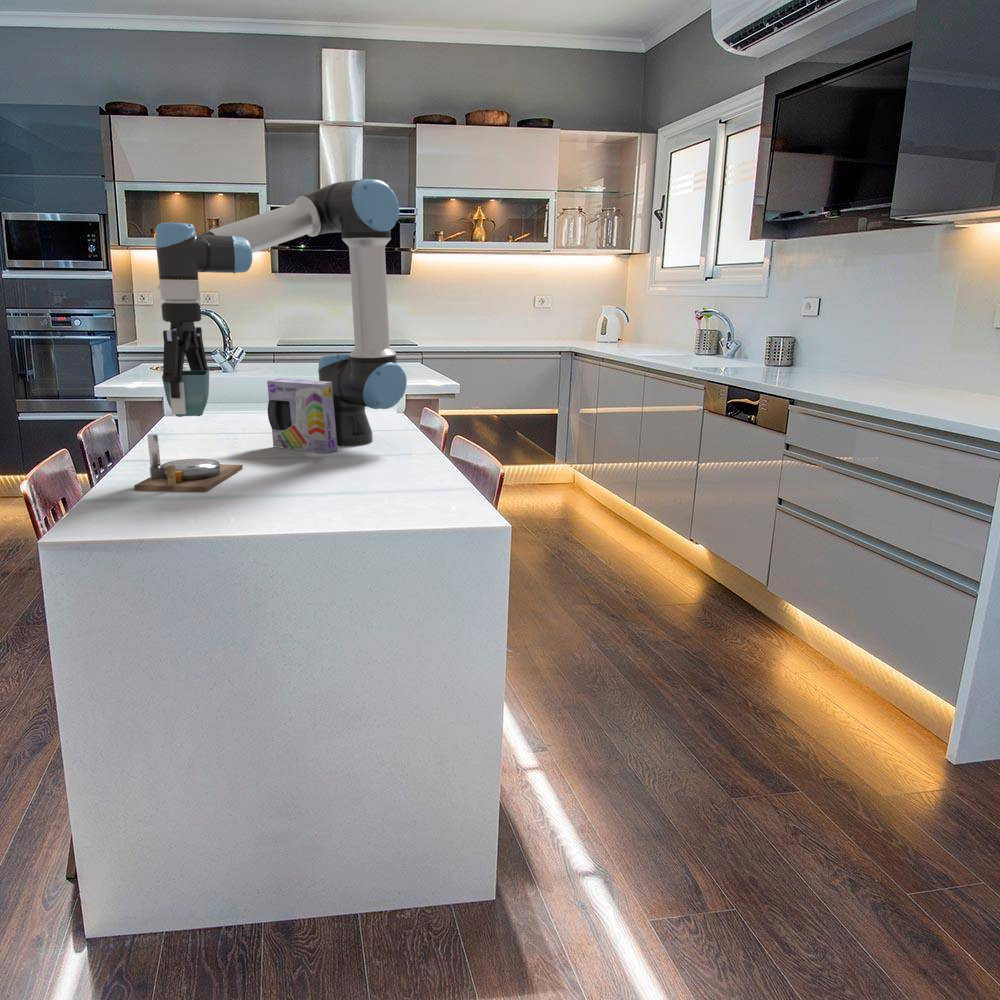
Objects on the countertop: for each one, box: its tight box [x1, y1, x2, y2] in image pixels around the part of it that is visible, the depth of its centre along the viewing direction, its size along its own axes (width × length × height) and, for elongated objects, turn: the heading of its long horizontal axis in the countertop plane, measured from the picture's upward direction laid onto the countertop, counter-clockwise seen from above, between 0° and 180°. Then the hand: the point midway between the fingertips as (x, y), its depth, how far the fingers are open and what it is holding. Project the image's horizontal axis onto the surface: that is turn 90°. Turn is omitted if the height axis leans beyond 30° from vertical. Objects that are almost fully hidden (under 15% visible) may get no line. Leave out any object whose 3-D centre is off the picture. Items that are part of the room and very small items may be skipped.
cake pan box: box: [266, 377, 339, 454], centre depth 213 cm, size 19×5×18 cm, turn 60°
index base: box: [133, 463, 243, 493], centre depth 182 cm, size 15×21×5 cm
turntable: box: [147, 433, 221, 482], centre depth 180 cm, size 14×13×9 cm
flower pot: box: [161, 369, 210, 418], centre depth 178 cm, size 9×9×9 cm
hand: (189, 410), depth 179 cm, fingers closed on flower pot, 10 cm apart
